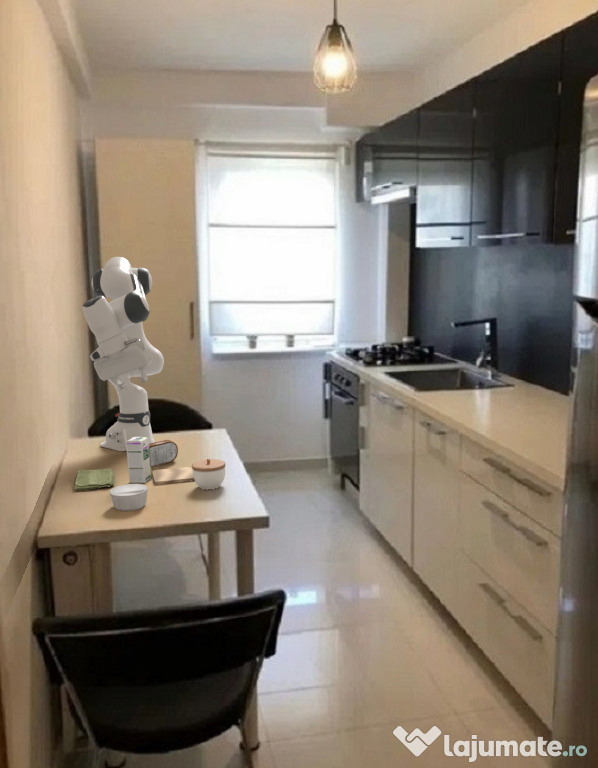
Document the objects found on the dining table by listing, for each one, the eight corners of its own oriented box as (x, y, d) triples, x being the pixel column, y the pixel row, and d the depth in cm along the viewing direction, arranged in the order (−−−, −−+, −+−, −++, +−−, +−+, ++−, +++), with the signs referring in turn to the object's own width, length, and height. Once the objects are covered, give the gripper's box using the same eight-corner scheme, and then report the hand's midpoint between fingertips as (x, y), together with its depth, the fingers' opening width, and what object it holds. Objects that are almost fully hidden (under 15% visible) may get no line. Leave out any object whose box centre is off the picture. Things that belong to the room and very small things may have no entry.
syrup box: (145, 483, 238) (142, 440, 235) (128, 482, 239) (125, 440, 236) (152, 478, 243) (149, 436, 241) (136, 477, 244) (132, 436, 242)
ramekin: (125, 515, 208) (124, 497, 207) (103, 507, 215) (101, 490, 214) (156, 504, 216) (155, 487, 215) (134, 497, 223) (132, 481, 223)
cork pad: (155, 484, 235) (154, 482, 235) (152, 473, 249) (152, 470, 249) (197, 480, 239) (197, 477, 239) (192, 469, 252) (192, 466, 252)
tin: (175, 459, 266) (173, 437, 265) (180, 460, 264) (178, 438, 262) (140, 468, 256) (138, 445, 254) (144, 470, 254) (143, 446, 252)
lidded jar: (217, 493, 225) (215, 464, 223) (187, 490, 228) (185, 462, 227) (232, 483, 234) (230, 455, 233) (202, 480, 238) (201, 453, 237)
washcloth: (73, 493, 231) (72, 484, 230) (76, 478, 248) (75, 469, 247) (115, 489, 234) (114, 479, 233) (115, 474, 251) (114, 465, 250)
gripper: (144, 333, 225) (164, 372, 228) (97, 351, 234) (116, 389, 237) (133, 339, 219) (153, 380, 222) (85, 358, 228) (105, 396, 232)
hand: (134, 384), depth 230 cm, fingers open, 8 cm apart
